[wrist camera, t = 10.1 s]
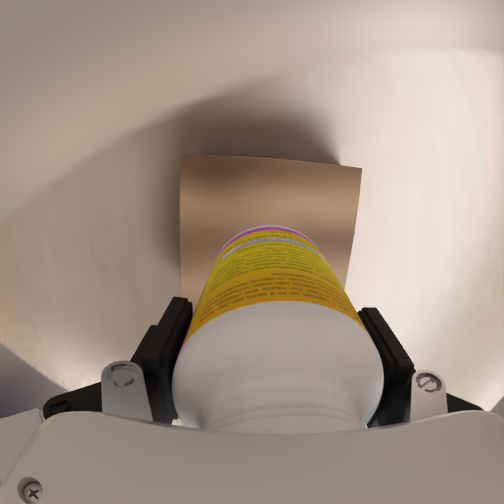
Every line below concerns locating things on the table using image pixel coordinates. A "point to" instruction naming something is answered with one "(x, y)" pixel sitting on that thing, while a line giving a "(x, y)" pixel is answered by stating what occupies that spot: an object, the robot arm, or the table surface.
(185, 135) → the table surface
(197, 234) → the walnut block
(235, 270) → the supplement bottle
